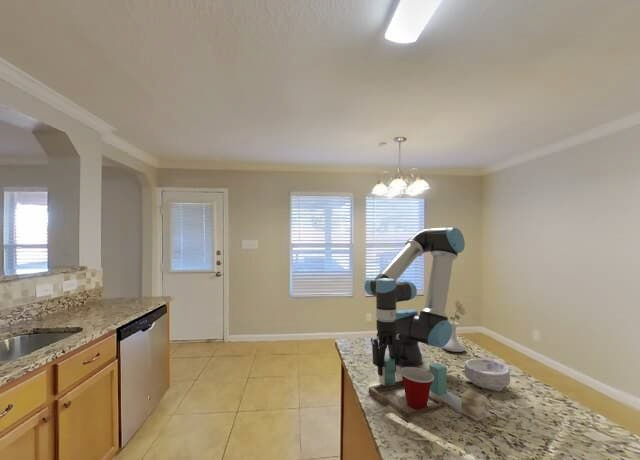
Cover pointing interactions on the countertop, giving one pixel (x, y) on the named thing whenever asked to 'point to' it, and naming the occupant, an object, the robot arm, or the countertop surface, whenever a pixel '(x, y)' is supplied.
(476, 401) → the beech cube
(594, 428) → the countertop surface
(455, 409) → the divider rail
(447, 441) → the countertop surface
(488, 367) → the paper bowls
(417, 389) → the plastic cup
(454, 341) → the flower in vase
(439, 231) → the robot arm
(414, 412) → the frame
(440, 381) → the sled
